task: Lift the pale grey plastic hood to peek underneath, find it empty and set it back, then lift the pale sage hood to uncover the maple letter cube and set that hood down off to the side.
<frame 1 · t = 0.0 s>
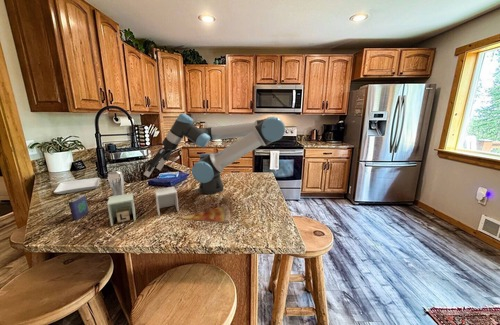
hand: (152, 172, 110), 15 cm above the counter, tool tilted 35°, fingers open, 13 cm apart
grey hood: (167, 209, 99), on the counter
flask: (81, 216, 94), on the counter
beer glass: (119, 198, 114), on the counter
sage hood: (124, 219, 90), on the counter
letter cube: (123, 214, 90), in the sage hood
salad plate: (79, 188, 131), on the counter
pizza slice: (211, 213, 96), on the counter
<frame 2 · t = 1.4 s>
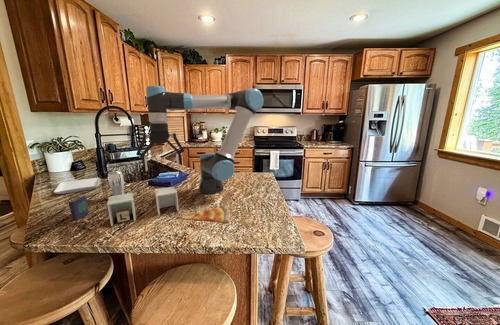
hand: (162, 168, 95), 21 cm above the counter, tool pointing down, fingers open, 13 cm apart
nothing on the counter moved.
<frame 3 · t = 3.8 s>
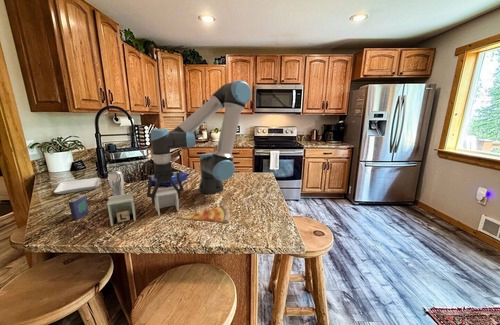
hand: (167, 207, 99), 1 cm above the counter, tool pointing down, fingers closed on grey hood, 9 cm apart
grey hood: (167, 209, 99), on the counter, touching gripper
everything else where it was.
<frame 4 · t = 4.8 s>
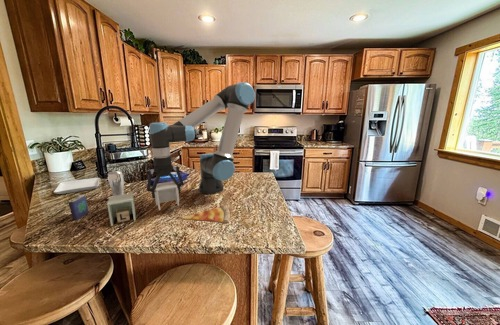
hand: (167, 201, 98), 4 cm above the counter, tool pointing down, fingers closed on grey hood, 9 cm apart
grey hood: (168, 204, 99), point 3 cm above the counter, touching gripper
everything else where it was.
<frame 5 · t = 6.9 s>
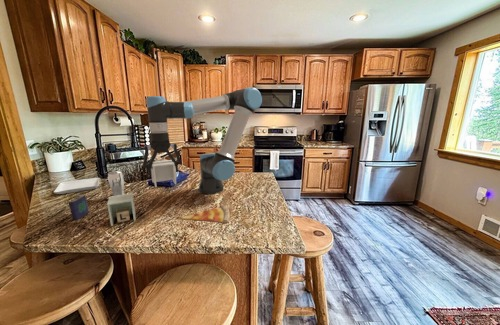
hand: (164, 180, 96), 15 cm above the counter, tool pointing down, fingers closed on grey hood, 9 cm apart
grey hood: (164, 182, 96), point 14 cm above the counter, touching gripper
everything else where it was.
when the fingers open (2 cm above the counter, at t = 9.8 s): grey hood stays where it is, on the counter.
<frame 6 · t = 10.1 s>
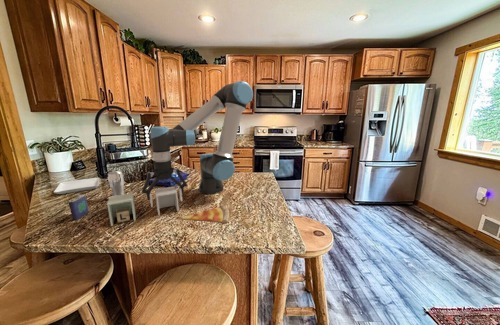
hand: (166, 203, 98), 4 cm above the counter, tool pointing down, fingers open, 13 cm apart
grey hood: (167, 209, 99), on the counter
everything else where it was.
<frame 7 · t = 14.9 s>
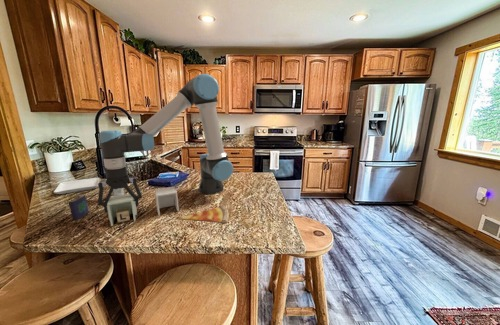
hand: (123, 216, 90), 1 cm above the counter, tool pointing down, fingers closed on sage hood, 9 cm apart
sage hood: (124, 219, 90), on the counter, touching gripper
everything else where it was.
when the fingers open (2 cm above the counter, at t = 22.6 s): sage hood stays where it is, on the counter.
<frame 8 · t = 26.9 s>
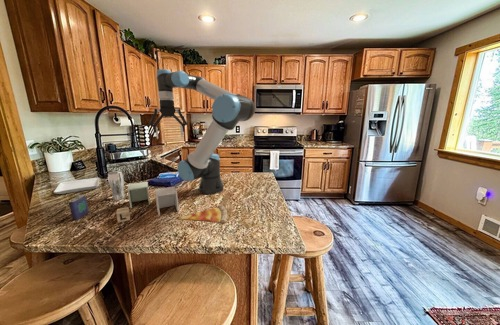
hand: (170, 138, 117), 33 cm above the counter, tool pointing down, fingers open, 13 cm apart
sage hood: (140, 203, 107), on the counter
at the end: sage hood moved 17.1 cm from its start; letter cube moved 0.1 cm from its start; grey hood inside the target area (0.0 cm from its centre), on the counter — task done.
